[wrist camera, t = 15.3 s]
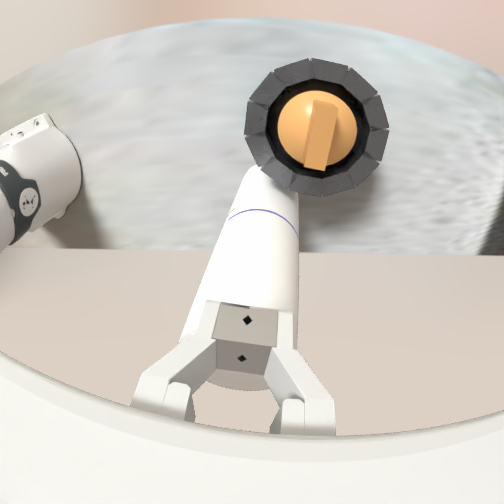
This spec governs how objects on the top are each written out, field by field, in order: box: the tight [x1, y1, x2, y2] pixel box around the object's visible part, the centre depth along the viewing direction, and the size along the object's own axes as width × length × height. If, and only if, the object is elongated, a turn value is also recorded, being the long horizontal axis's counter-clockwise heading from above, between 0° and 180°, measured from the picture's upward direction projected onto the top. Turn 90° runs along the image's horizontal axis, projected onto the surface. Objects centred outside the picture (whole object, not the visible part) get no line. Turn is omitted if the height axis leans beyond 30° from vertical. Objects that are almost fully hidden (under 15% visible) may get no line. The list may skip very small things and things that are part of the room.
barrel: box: [244, 58, 389, 197], centre depth 26 cm, size 12×12×10 cm
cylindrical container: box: [178, 165, 299, 391], centre depth 26 cm, size 7×7×25 cm
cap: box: [278, 90, 357, 171], centre depth 22 cm, size 7×7×5 cm
